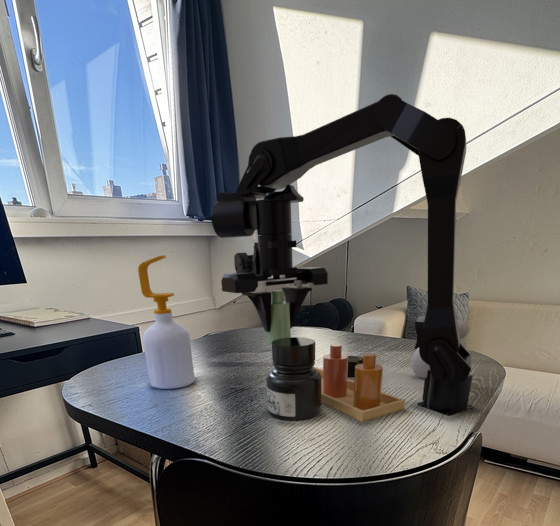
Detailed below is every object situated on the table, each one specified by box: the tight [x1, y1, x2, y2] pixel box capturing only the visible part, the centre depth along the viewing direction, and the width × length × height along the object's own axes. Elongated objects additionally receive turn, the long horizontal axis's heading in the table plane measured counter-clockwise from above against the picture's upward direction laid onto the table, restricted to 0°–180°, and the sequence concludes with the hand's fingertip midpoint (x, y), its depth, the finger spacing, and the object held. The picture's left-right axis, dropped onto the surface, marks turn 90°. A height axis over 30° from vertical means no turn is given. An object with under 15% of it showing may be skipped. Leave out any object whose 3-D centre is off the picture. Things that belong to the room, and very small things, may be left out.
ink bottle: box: [266, 336, 322, 422], centre depth 66 cm, size 10×9×12 cm
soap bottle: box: [137, 254, 195, 390], centre depth 81 cm, size 9×9×25 cm
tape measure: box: [347, 355, 363, 377], centre depth 87 cm, size 7×7×4 cm
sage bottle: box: [266, 289, 292, 345], centre depth 74 cm, size 4×4×9 cm
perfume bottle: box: [410, 319, 470, 380], centre depth 81 cm, size 8×10×12 cm
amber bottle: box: [353, 352, 384, 411], centre depth 67 cm, size 4×4×9 cm
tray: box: [313, 366, 406, 423], centre depth 75 cm, size 25×9×2 cm, turn 32°
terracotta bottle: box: [322, 343, 349, 398], centre depth 73 cm, size 4×4×9 cm
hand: (278, 329), depth 75 cm, fingers closed on sage bottle, 4 cm apart
